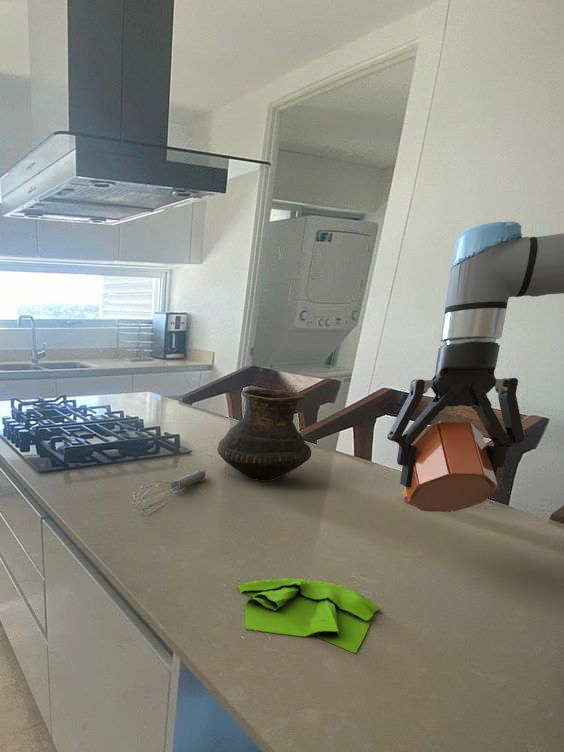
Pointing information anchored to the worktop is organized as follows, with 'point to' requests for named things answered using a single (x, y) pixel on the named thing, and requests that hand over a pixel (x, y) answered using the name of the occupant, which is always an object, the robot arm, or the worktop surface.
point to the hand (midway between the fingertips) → (445, 486)
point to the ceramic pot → (266, 436)
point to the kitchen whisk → (176, 485)
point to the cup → (450, 468)
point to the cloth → (308, 610)
